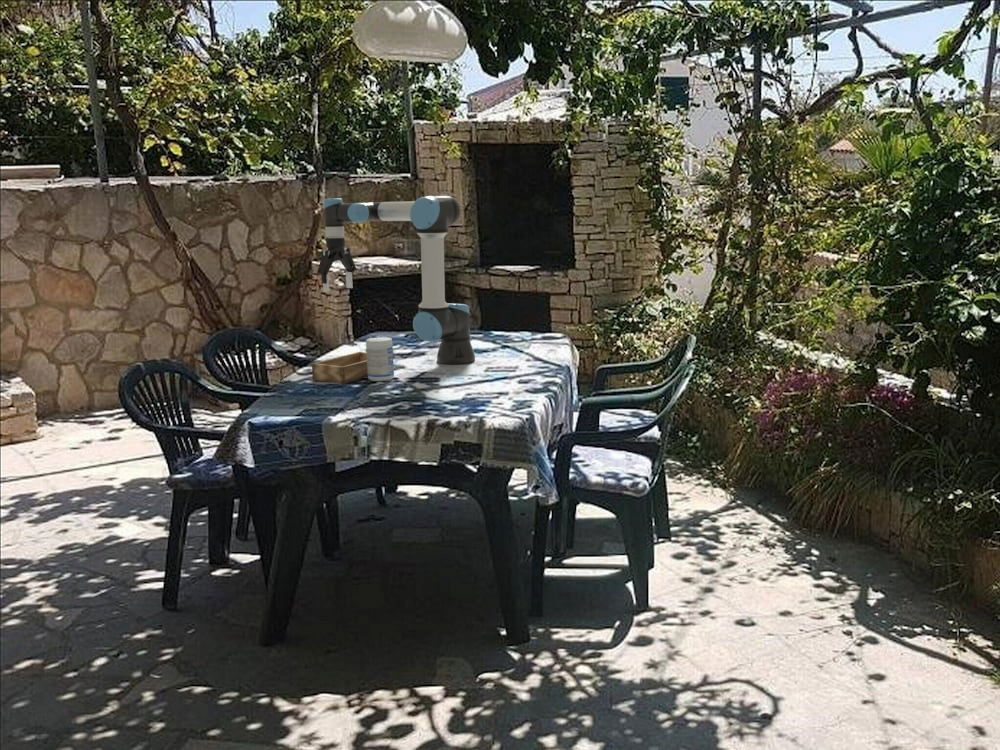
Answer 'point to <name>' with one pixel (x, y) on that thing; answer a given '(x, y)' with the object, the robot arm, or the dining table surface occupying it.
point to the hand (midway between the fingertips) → (338, 289)
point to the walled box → (341, 368)
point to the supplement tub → (380, 359)
